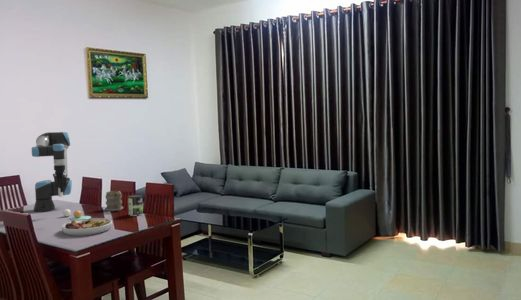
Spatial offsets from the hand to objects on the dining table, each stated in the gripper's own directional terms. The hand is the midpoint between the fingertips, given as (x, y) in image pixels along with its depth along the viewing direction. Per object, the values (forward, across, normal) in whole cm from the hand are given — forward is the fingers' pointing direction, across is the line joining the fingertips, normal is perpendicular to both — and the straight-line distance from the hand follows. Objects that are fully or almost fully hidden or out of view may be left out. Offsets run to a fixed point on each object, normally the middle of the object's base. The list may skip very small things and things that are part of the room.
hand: (61, 196), depth 319 cm
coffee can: (+15, +49, +25) cm, 57 cm away
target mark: (+14, +20, 0) cm, 25 cm away
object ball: (+12, +17, 0) cm, 21 cm away
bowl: (+14, +53, -23) cm, 60 cm away
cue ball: (+12, +6, 0) cm, 13 cm away
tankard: (+15, +22, +32) cm, 42 cm away
